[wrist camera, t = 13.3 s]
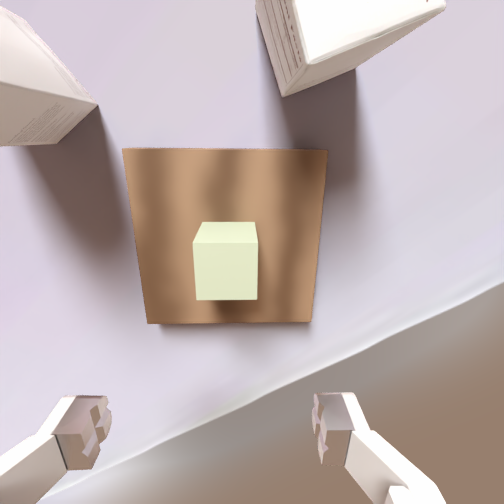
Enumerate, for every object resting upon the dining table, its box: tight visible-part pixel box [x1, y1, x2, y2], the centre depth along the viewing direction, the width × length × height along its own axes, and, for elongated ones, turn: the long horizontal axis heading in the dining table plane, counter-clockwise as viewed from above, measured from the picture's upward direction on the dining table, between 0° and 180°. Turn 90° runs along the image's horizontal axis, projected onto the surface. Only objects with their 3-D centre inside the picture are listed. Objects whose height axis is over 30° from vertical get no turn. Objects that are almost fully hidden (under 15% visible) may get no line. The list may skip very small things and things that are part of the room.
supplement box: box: [255, 0, 446, 97], centre depth 19 cm, size 7×7×13 cm
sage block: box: [193, 222, 258, 300], centre depth 26 cm, size 5×5×6 cm
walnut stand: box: [122, 148, 328, 324], centre depth 30 cm, size 18×18×3 cm
